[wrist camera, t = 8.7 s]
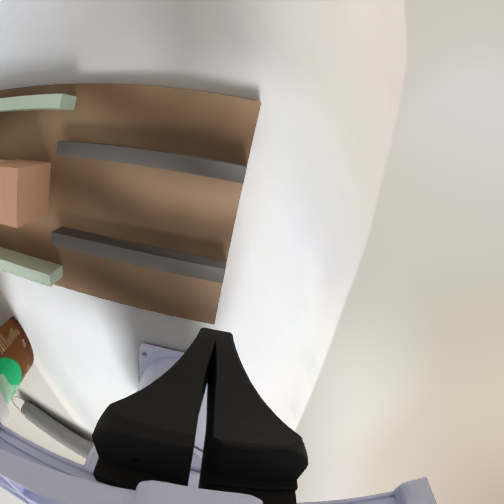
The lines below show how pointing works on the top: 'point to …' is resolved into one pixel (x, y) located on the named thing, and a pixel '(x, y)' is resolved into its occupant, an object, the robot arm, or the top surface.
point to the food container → (12, 361)
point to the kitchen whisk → (55, 429)
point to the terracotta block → (23, 191)
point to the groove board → (135, 190)
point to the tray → (11, 259)
